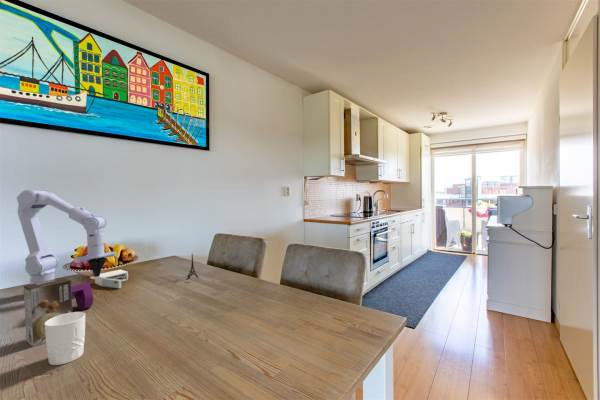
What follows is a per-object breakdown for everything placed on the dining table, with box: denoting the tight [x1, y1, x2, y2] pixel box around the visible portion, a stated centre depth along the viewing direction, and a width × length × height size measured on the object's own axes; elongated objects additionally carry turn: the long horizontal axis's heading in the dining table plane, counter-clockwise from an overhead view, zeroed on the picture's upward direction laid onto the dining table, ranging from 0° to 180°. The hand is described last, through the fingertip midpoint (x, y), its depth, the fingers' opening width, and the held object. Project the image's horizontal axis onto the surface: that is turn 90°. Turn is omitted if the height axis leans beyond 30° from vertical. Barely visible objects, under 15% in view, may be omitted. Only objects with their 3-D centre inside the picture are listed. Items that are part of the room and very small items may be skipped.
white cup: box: [44, 311, 86, 366], centre depth 69 cm, size 8×8×10 cm
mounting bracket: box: [71, 281, 94, 311], centre depth 99 cm, size 9×8×18 cm
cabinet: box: [94, 269, 129, 287], centre depth 131 cm, size 8×11×4 cm
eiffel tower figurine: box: [186, 253, 199, 279], centre depth 136 cm, size 15×10×13 cm
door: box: [101, 278, 122, 289], centre depth 122 cm, size 1×11×4 cm, turn 72°
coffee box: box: [23, 277, 73, 348], centre depth 79 cm, size 9×6×16 cm
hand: (96, 276), depth 117 cm, fingers closed
